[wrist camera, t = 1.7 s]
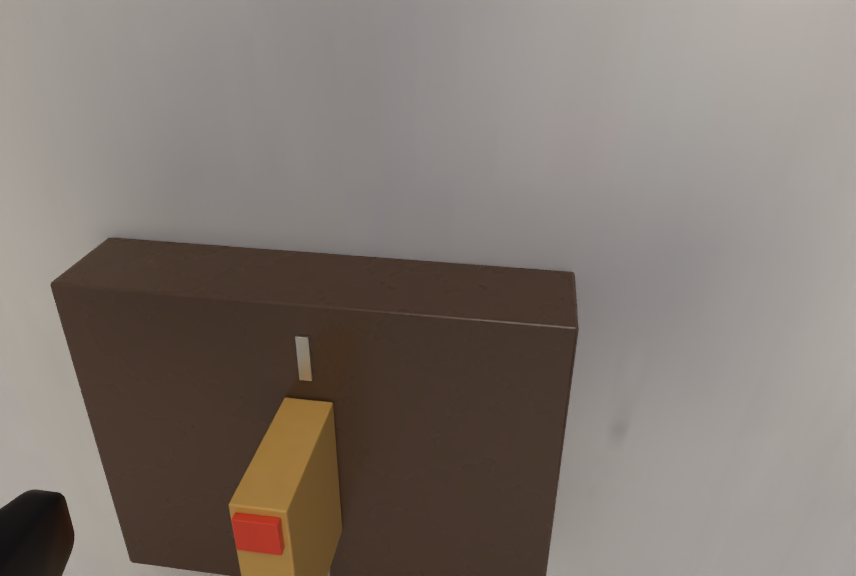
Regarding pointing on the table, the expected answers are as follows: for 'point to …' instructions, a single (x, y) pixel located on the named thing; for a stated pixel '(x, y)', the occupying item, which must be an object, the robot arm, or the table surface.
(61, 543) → the robot arm
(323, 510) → the thumbturn
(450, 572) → the plate
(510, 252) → the table surface
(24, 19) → the table surface
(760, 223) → the table surface
